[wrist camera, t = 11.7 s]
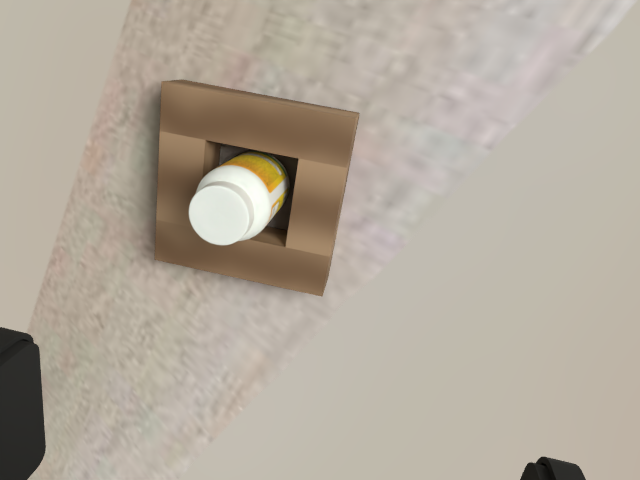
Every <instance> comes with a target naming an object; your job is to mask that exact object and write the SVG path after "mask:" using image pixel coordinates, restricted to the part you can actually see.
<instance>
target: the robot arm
mask: <svg viewBox="0 0 640 480" xmlns="http://www.w3.org/2000/svg"><path fill="white" fill-rule="evenodd" d="M45 448H46V445H45V430H44V415H43V399H42V384H41V369H40V354H39V347H38V346H37V344H34V342H33V338H32V337H31V335H29V334H27V333H23V332H18V331H14V330H9V329H5V328H2V327H1V328H0V480H27V479H28V478H29V477H30V476H31V474H32V473H33V472H34V471H35V470H36V469H37V467H38V466H39V465H40V463H41V461H42V459H43V457H44V454H45ZM520 480H586V479H585V477H584V475H583V473H582V471H581V469H580V468H579V466H577V465H576V464H572V463H569V462H564V461H560V460H556V459H551V458H547V457H541V458H539V459H538V461H537V462H536V463H528V464H527V466H526V467H525V470H524V472H523V474H522V477H521V479H520Z"/></svg>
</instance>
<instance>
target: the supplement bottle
mask: <svg viewBox="0 0 640 480" xmlns="http://www.w3.org/2000/svg"><path fill="white" fill-rule="evenodd" d="M289 189H290V182H289V177H288V174H287V171H286V169H285V168H284V166H283V165H282V164H281V163H280V162H279V161H278V160H277V159H276V158H275V157H274V156H272V155H270V154H268V153H266V152H262V151H247V152H244V153H242V154H240V155H238V156H236V157H234V158H233V159H231V160H229V161H227V162H226V163H224V164H222V165H220V166H219V167H217V168H215V169H213V170H212V171H210V172H209V173H208V174H207V175H205V177H204V178H203V179H202V180H201V182H200V183H199V185H198V188H197V191H196V194H195V195H194V196H193V198H192V200H191V202H190V205H189V219H190V222H191V225H192V227H193V229H194V230H195V232H196V233H197V234H198V235H199V236H200V237H201V238H202V239H204V240H205V241H207V242H209V243H212V244H215V245H230V244H233V243H235V242H237V241H243V240H247V239H250V238H252V237H254V236H256V235H257V234H259V233H260V232H261V231H262V230H263V229H264V228H265V226H266V225H267V224H268V223H269V222H270V220H271V219H272V218H273V217H274V215H275V214H276V213H277V212H278V211H279V209H280V208H281V207H282V205H283V204H284V203H285V201H286V199H287V197H288V194H289Z"/></svg>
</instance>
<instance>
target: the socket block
mask: <svg viewBox="0 0 640 480" xmlns="http://www.w3.org/2000/svg"><path fill="white" fill-rule="evenodd" d="M358 119H359V113H357V112H351V111H346V110H341V109H336V108H330V107H325V106H320V105H314V104H309V103H304V102H298V101H293V100H288V99H282V98H277V97H272V96H267V95H261V94H256V93H251V92H245V91H240V90H235V89H229V88H224V87H219V86H213V85H208V84H203V83H198V82H192V81H187V80H173V81H162V84H161V109H160V135H159V161H158V186H157V212H156V238H155V260H159V261H163V262H168V263H172V264H177V265H182V266H186V267H191V268H195V269H200V270H204V271H209V272H213V273H218V274H222V275H227V276H231V277H236V278H241V279H245V280H250V281H254V282H259V283H263V284H268V285H272V286H277V287H281V288H286V289H291V290H295V291H300V292H304V293H309V294H313V295H318V296H323V292H324V289H325V286H326V283H327V280H328V275H329V270H330V265H331V260H332V255H333V249H334V244H335V239H336V234H337V228H338V223H339V218H340V213H341V208H342V202H343V197H344V192H345V187H346V181H347V176H348V171H349V166H350V160H351V155H352V150H353V145H354V140H355V134H356V129H357V124H358ZM221 143H223V144H228V145H233V146H238V147H243V148H248V149H253V150H258V151H263V152H268V153H273V154H278V155H283V156H288V157H294V158H299V160H298V166H297V173H296V180H295V186H294V193H293V200H292V206H291V213H290V220H289V226H288V231H287V230H282V229H277V228H273V227H268V226H265V228H264V229H263V230H262V231H261V232H260V233H259V234H257V235H256V236H254V237H252V238H250V239H247V240H243V241H237V242H235V243H233V244H230V245H215V244H212V243H209V242H207V241H205V240H204V239H202V238H201V237H200V236H199V235H198V234H197V233H196V232H195V230H194V229H193V227H192V225H191V222H190V219H189V205H190V202H191V200H192V198H193V196H194V195H195V194H196V191H197V188H198V185H199V183H200V182H201V180H202V179H203V178H204V177H205V175H207V174H208V173H209V172H210V171H212V170H213V169H215V168H217V167H219V156H220V145H221Z"/></svg>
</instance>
